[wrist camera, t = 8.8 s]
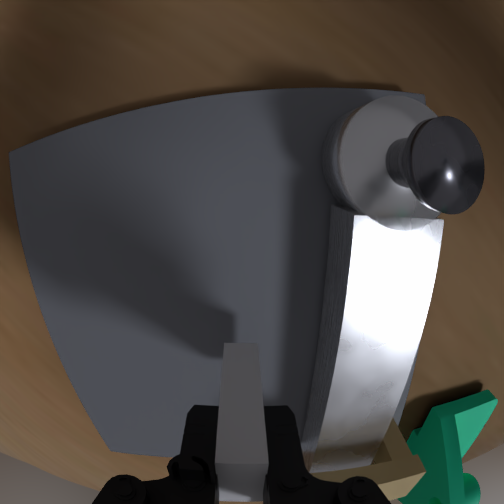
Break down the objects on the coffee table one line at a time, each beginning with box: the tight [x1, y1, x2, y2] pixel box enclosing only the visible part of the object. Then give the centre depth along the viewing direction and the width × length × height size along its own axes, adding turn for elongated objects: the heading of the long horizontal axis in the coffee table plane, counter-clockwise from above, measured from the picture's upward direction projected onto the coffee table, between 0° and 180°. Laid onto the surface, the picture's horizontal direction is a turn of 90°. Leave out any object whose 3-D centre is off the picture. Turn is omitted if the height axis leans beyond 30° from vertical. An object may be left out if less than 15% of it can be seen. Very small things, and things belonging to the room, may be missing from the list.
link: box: [301, 96, 484, 473], centre depth 12 cm, size 20×5×6 cm, turn 0°
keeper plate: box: [9, 88, 426, 501], centre depth 13 cm, size 22×22×8 cm
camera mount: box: [397, 390, 498, 504], centre depth 16 cm, size 12×8×10 cm, turn 179°
